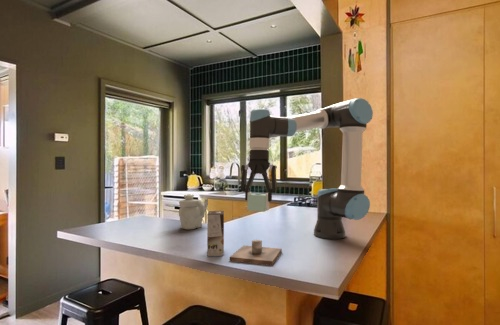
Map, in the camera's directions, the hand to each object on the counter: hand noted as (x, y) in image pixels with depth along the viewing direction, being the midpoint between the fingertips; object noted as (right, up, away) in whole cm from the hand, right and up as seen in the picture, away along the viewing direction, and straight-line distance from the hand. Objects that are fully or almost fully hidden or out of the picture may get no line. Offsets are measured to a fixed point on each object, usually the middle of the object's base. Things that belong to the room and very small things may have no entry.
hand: (258, 209), depth 115 cm
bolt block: (-1, -18, -1) cm, 18 cm away
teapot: (-34, -18, +52) cm, 65 cm away
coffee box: (-17, -18, +4) cm, 25 cm away
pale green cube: (0, 0, 0) cm, 0 cm away
